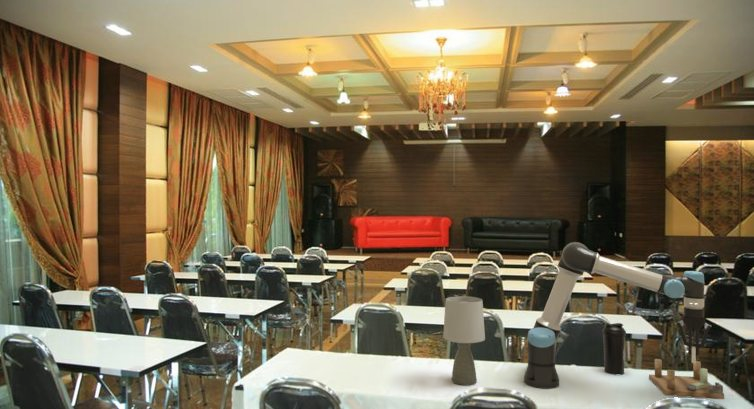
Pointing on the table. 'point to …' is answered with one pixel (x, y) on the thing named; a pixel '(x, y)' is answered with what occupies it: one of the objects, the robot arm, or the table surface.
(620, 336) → the water bottle
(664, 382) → the stool seat
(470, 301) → the lamp
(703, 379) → the hinged leg
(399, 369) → the table surface
